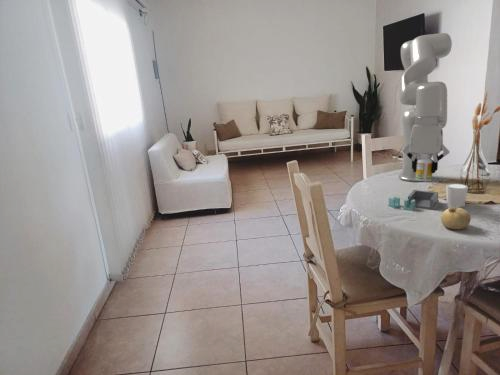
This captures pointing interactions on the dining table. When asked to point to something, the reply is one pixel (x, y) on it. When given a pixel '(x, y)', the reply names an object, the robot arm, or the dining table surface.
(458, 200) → the white cup
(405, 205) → the clip
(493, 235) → the dining table surface
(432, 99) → the robot arm
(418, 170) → the supplement bottle
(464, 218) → the onion
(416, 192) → the holder
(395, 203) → the clip
